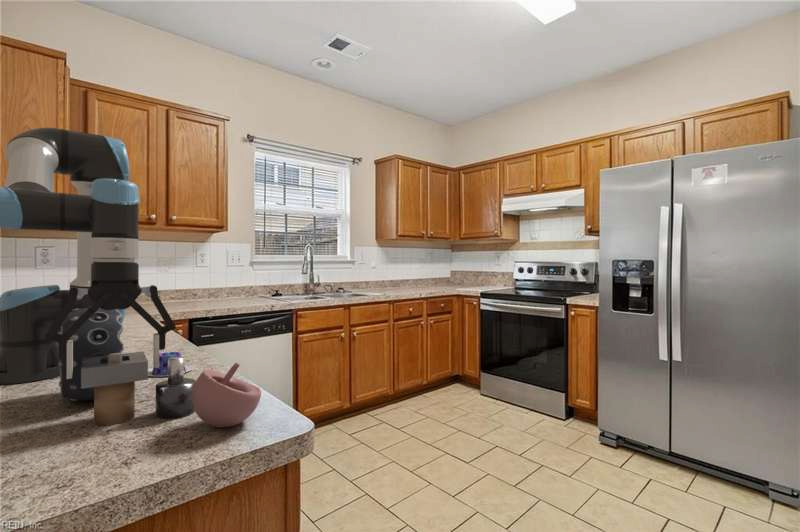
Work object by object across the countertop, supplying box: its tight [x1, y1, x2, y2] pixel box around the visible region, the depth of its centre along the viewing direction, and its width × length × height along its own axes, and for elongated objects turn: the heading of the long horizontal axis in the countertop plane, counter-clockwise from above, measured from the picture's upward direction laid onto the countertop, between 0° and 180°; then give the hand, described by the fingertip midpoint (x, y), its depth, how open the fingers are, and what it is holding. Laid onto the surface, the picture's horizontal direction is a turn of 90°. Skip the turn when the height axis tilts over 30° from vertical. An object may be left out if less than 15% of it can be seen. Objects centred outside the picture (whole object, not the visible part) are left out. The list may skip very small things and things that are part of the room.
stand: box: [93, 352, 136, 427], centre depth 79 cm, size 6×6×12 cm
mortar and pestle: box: [192, 362, 262, 428], centre depth 77 cm, size 12×12×12 cm
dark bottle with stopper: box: [155, 356, 196, 420], centre depth 82 cm, size 7×7×11 cm
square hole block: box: [81, 351, 149, 389], centre depth 79 cm, size 10×10×4 cm
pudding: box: [148, 351, 194, 377], centre depth 112 cm, size 12×12×5 cm
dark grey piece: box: [58, 308, 125, 402], centre depth 90 cm, size 11×20×20 cm, turn 37°
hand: (115, 371), depth 78 cm, fingers open, 13 cm apart
